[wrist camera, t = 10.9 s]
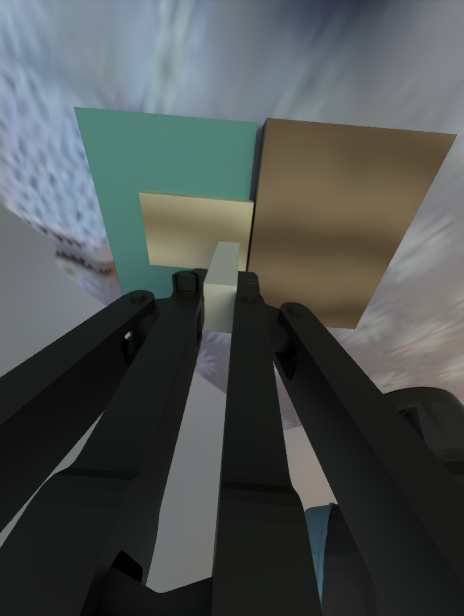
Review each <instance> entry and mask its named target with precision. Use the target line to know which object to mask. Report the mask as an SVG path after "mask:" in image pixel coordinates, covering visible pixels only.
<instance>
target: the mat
mask: <svg viewBox="0 0 464 616" xmlns="http://www.w3.org/2000/svg"><path fill="white" fill-rule="evenodd" d="M74 110H75V113H76V117H77V121H78V125H79V129H80V132H81V136H82V140H83V144H84V148H85V151H86V155H87V159H88V163H89V167H90V171H91V174H92V178H93V182H94V186H95V190H96V193H97V197H98V201H99V205H100V209H101V213H102V216H103V220H104V224H105V228H106V232H107V235H108V239H109V243H110V247H111V250H112V254H113V258H114V262H115V266H116V270H117V274H118V277H119V281H120V285H121V289H122V293H123V295H125V294H127V293H129V292H132V291H135V290H148V291H150V292H152V293H153V294H154V296H155V299H161V298H169V297H170V296H171V295H172V293H173V284H172V274H174V273H175V272H178V271H183V270H191V271H192V270H193V269H192V268H181V267H169V266H158V265H150V262H149V256H148V249H147V243H146V236H145V230H144V223H143V217H142V211H141V204H140V198H139V192H142V191H157V192H167V193H178V194H189V195H200V196H211V197H222V198H232V199H243V200H249V198H250V189H251V179H252V170H253V160H254V151H255V141H256V132H257V123H252V122H241V121H229V120H218V119H206V118H195V117H183V116H172V115H160V114H149V113H137V112H125V111H114V110H102V109H91V108H79V107H74Z"/></svg>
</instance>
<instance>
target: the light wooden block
mask: <svg viewBox="0 0 464 616" xmlns="http://www.w3.org/2000/svg"><path fill="white" fill-rule="evenodd" d="M139 198H140V204H141V211H142V217H143V223H144V230H145V236H146V243H147V249H148V256H149V262H150V265H158V266H169V267H181V268H192V269H195V268H203V269H209V267H210V264H211V261H212V258H213V256H214V253H215V250H216V247H217V244H218V242H219V241H223V242H234V243H240V248H239V264H238V271H245V270H246V262H247V254H248V246H249V238H250V229H251V221H252V213H253V205H254V202H253V200H243V199H232V198H222V197H211V196H200V195H189V194H178V193H167V192H157V191H142V192H139Z"/></svg>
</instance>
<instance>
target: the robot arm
mask: <svg viewBox="0 0 464 616" xmlns="http://www.w3.org/2000/svg"><path fill="white" fill-rule="evenodd" d="M239 248H240V243H234V242H223V241H219V242H218V244H217V247H216V250H215V253H214V256H213V258H212V261H211V264H210V267H209V269H203V268H195V269H193V270H192V271H191V270H183V271H178V272H175V273H174V274H172V284H173V293H172V295H171V296H170V297H169V298H161V299H155V296H154V294H153V293H152V292H150V291H148V290H135V291H132V292H129V293H127V294H125V295H123V296H122V297H120V298H119V299H117V300H116V301H114V302H113V303H111V304H110V305H108V306H107V307H105V308H104V309H102V310H101V311H99V312H98V313H96V314H95V315H93V316H92V317H91V318H89V319H87V320H86V321H84V322H83V323H81V324H80V325H79V326H77V327H76V328H74V329H72V330H71V331H69V332H68V333H66V334H65V335H63V336H62V337H60V338H59V339H57V340H56V341H54V342H53V343H51V344H50V345H48V346H47V347H45V348H44V349H42V350H41V351H39V352H38V353H36V354H35V355H33V356H32V357H30V358H29V359H27V360H26V361H24V362H23V363H21V364H20V365H18V366H17V367H15V368H14V369H12V370H11V371H9V372H8V373H6V374H5V375H3V376H2V377H0V533H1V531H2V530H3V529H4V528H5V527H6V526H7V524H8V523H9V522H10V521H11V520H12V519H13V517H14V516H15V515H16V514H17V513H18V511H19V510H20V509H21V508H22V507H23V506H24V504H25V503H26V502H27V501H28V500H29V498H30V497H31V496H32V495H33V494H34V493H35V491H36V490H37V489H38V488H39V487H40V486H41V484H42V483H43V482H44V481H45V480H46V479H47V477H48V476H49V475H50V474H51V473H52V472H53V470H54V469H55V468H56V467H57V466H58V464H59V463H60V462H61V461H62V460H63V459H64V457H65V456H66V455H67V454H68V453H69V452H70V450H71V449H72V448H73V447H74V446H75V444H76V443H77V442H78V441H79V440H80V439H81V437H82V436H83V435H84V434H85V433H86V432H87V430H88V429H89V428H90V427H91V426H92V424H93V423H94V422H95V421H96V420H97V418H98V417H99V416H100V415H101V414H102V412H103V414H102V416H101V418H100V419H99V421H98V423H97V425H96V426H95V428H94V430H93V431H92V433H91V435H90V437H89V438H88V440H87V442H86V444H85V445H84V447H83V449H82V450H81V452H80V454H79V455H78V457H77V458H76V460H75V461H74V462H73V463H72V465H70V466H69V467H68V468H66V469H64V470H62V471H60V472H58V473H55V474H54V475H53V476H52V477H51V478H49V480H47V481H46V482H45V483H44V484H43V485H42V487H41V488H40V489H39V491H38V492H37V493H36V495H35V496H34V497H33V499H32V500H31V501H30V503H29V505H28V506H27V507H26V509H25V511H24V512H23V514H22V515H21V517H20V518H19V520H18V522H17V523H16V525H15V526H14V528H13V529H12V531H11V532H10V534H9V535H8V537H7V539H6V540H5V542H4V543H3V545H2V546H1V548H0V616H464V406H463V404H462V403H461V402H460V401H459V400H458V399H457V398H456V397H455V396H454V395H453V394H451V393H450V392H447V391H445V390H441V389H436V388H412V389H406V390H401V391H396V392H393V393H389V394H387V395H383V394H382V392H381V391H380V390H379V389H378V388H377V387H376V386H375V384H374V383H373V382H372V381H371V380H370V379H369V377H368V376H367V375H366V374H365V373H364V372H363V371H362V369H361V368H360V367H359V366H358V365H357V364H356V362H355V361H354V360H353V359H352V358H351V357H350V355H349V354H348V353H347V352H346V351H345V350H344V349H343V347H342V346H341V345H340V344H339V343H338V342H337V340H336V339H335V338H334V337H333V336H332V335H331V334H330V332H329V331H328V330H327V329H326V328H325V327H324V325H323V324H322V323H321V322H320V321H319V320H318V319H317V317H316V316H315V315H314V314H313V313H312V312H311V310H310V309H308V308H307V307H306V306H304V305H302V304H300V303H297V302H287V303H284V304H282V305H281V307H280V309H279V308H275V307H272V306H269V305H268V304H266V303H264V298H263V296H261V295H260V288H259V280H258V276H257V275H256V274H255V273H254V272H245V271H238V264H239ZM203 325H204V331H214V332H226V333H232V337H231V348H230V362H229V374H228V386H227V399H226V411H225V423H224V435H223V447H222V460H221V472H220V484H219V497H218V509H217V520H216V532H215V543H214V556H213V568H212V577H210V578H207V579H204V580H201V581H198V582H195V583H192V584H189V585H186V586H183V587H180V588H177V589H174V590H171V591H168V592H165V593H157V592H155V591H153V590H152V589H150V588H148V587H147V586H146V582H147V578H148V573H149V569H150V565H151V561H152V557H153V552H154V548H155V543H156V537H157V531H158V521H159V513H160V507H161V503H162V499H163V494H164V490H165V486H166V482H167V478H168V474H169V470H170V466H171V462H172V458H173V454H174V450H175V446H176V442H177V438H178V434H179V430H180V425H181V422H182V418H183V413H184V410H185V406H186V401H187V397H188V393H189V389H190V385H191V381H192V377H193V373H194V369H195V365H196V361H197V357H198V353H199V349H200V345H201V341H202V329H203ZM128 332H130V335H131V336H129V337H128V338H127V339H125V335H126V334H127V333H128ZM273 361H274V364H275V366H276V368H277V370H278V372H279V375H280V377H281V379H282V381H283V384H284V386H285V388H286V390H287V392H288V395H289V397H290V399H291V401H292V403H293V406H294V408H295V410H296V412H297V414H298V417H299V419H300V421H301V423H302V425H303V428H304V430H305V432H306V434H307V436H308V439H309V441H310V443H311V445H312V447H313V450H314V452H315V454H316V456H317V458H318V461H319V463H320V465H321V467H322V469H323V472H324V474H325V476H326V478H327V480H328V483H329V485H330V487H331V489H332V491H333V494H334V496H335V498H336V500H337V502H338V504H334V503H329V505H325V506H318V507H311V508H308V509H307V510H306V511H305V512H304V509H303V506H302V503H301V500H300V497H299V495H298V494H297V492H296V491H295V489H294V488H293V486H292V483H291V480H290V475H289V468H288V462H287V455H286V448H285V441H284V435H283V427H282V420H281V413H280V406H279V399H278V393H277V386H276V379H275V372H274V365H273ZM104 410H105V411H104Z"/></svg>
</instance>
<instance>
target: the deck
mask: <svg viewBox="0 0 464 616" xmlns="http://www.w3.org/2000/svg"><path fill="white" fill-rule="evenodd" d="M456 136H457V135H456V134H445V133H433V132H422V131H410V130H399V129H387V128H376V127H364V126H353V125H341V124H330V123H318V122H307V121H295V120H284V119H272V118H267V120H266V122H265V123H264V128H263V137H262V145H261V154H260V162H259V170H258V179H257V187H256V196H255V204H254V212H253V221H252V229H251V238H250V246H249V254H248V263H247V271H246V272H254V273H255V274H256V275H257V276H258V280H259V288H260V295H261V296H263V298H264V303H266V304H268V305H269V306H272V307H275V308H279V309H280V307H281V305H282V304H284V303H287V302H297V303H300V304H302V305H304V306H306V307H307V308H308V309H310V310H311V312H312V313H313V314H314V315H315V316H316V317H317V319H318V320H319V321H320V322H321V323H322V324H323V325H324V327H335V328H347V329H355V328H356V326H357V324H358V322H359V320H360V318H361V316H362V315H363V313H364V311H365V309H366V307H367V305H368V303H369V301H370V299H371V297H372V296H373V294H374V292H375V290H376V288H377V286H378V284H379V282H380V280H381V279H382V277H383V275H384V273H385V271H386V269H387V267H388V265H389V263H390V261H391V260H392V258H393V256H394V254H395V252H396V250H397V248H398V246H399V244H400V242H401V241H402V239H403V237H404V235H405V233H406V231H407V229H408V227H409V225H410V224H411V222H412V220H413V218H414V216H415V214H416V212H417V210H418V208H419V206H420V205H421V203H422V201H423V199H424V197H425V195H426V193H427V191H428V189H429V188H430V186H431V184H432V182H433V180H434V178H435V176H436V174H437V172H438V170H439V169H440V167H441V165H442V163H443V161H444V159H445V157H446V155H447V153H448V152H449V150H450V148H451V146H452V144H453V142H454V140H455V138H456Z"/></svg>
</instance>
